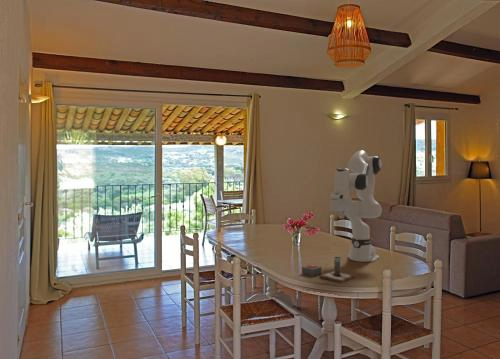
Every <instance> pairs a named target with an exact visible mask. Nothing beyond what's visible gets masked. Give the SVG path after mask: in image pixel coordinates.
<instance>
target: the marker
mask: <svg viewBox="0 0 500 359" xmlns="http://www.w3.org/2000/svg"><path fill="white" fill-rule="evenodd" d="M333 259H334V262H333V264H334V265H333V268H334V270H333V271H334V275H335V276H340V273H341V259H342V258H341V257H340V256H334V257H333Z"/></svg>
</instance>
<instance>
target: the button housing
mask: <svg viewBox="0 0 500 359" xmlns="http://www.w3.org/2000/svg"><path fill="white" fill-rule="evenodd" d="M308 265H309V264H308ZM308 265H305V266H304V265H303V266H301V274H302V275H306V276H310V277H317V276H320V275H322V266H319V265H315V268H308Z"/></svg>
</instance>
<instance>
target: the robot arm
mask: <svg viewBox="0 0 500 359" xmlns="http://www.w3.org/2000/svg"><path fill="white" fill-rule="evenodd" d="M382 166H383V161H382V158H381V157H380V156H375V155H374V156H369V155H368V153H367V152H366V151H365V150H358V151H356V152H355V153H354V154H352V156H351V157H350V159H349V160H348V168H347V167H339V168H337V169H336V170H335V172H334V173H335V174H334V180H333V181H334V190H333V191H332V193H331V194H330V195H329V210H330V212H331V213H337V215H338V219H344V218H345V217H346V218H347V219H348V220H349V221H350V224H351V229H352V230H351V231H352V236H351V240H350V241H351V244H350V245H349V253H348V255H347V258H349V260H351V261H354V262H362V263H364V262H365V263H367V262H368V263H369V262H370V263H371V262H372V263H373V262H375V261H377V260H378V259H380V256H379V255H378V254H376V252H377V250H376V247H374V246H373V245H372V242H373V237H371V238H370V232H371V230H370V229H371V228H370V226H369V225H368V223H366V222H364V221H363V220H362V219H363V218H364V219H376V218H379V217H380V216H381V215H382V212H383V209H382V206H381V204H380V203H379V202H378V201H377V200H376V199H375V197H374V194H375V186H376V176H375V175H378V173H379V172H380V171H381V170H382V168H383V167H382ZM350 172H351V173H350ZM350 190H356V196H357V198H358V199H360V200H354V199H352V196H351V194H350Z"/></svg>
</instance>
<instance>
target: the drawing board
mask: <svg viewBox="0 0 500 359" xmlns="http://www.w3.org/2000/svg"><path fill="white" fill-rule="evenodd" d="M318 276H319V279H323V280H327V281H331V282H336V283H339V284H342V283H345V282H347V281H350V280H352V279H355V275H353V274H349V273H343V272H340V276H335V275H334V270H332V271H328V272H327V273H323V274H319V275H318Z"/></svg>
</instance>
